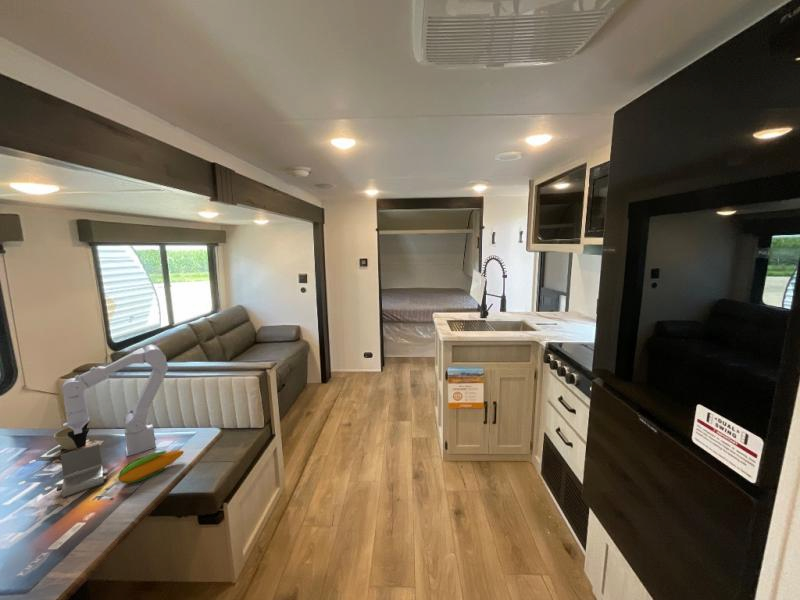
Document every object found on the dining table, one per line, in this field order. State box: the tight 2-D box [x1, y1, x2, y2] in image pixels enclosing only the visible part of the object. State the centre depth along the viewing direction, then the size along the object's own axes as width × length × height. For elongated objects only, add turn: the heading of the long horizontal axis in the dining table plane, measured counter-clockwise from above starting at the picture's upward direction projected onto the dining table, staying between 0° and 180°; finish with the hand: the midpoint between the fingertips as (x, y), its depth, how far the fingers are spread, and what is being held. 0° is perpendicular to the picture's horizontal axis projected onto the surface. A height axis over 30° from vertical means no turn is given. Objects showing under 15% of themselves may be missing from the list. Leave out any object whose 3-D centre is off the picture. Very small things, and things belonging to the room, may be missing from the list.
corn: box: [117, 449, 185, 484], centre depth 120 cm, size 7×8×20 cm
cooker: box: [56, 465, 109, 500], centre depth 113 cm, size 13×8×3 cm, turn 133°
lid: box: [60, 443, 103, 478], centre depth 116 cm, size 10×8×2 cm
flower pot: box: [53, 425, 89, 451], centre depth 134 cm, size 10×10×7 cm
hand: (81, 442), depth 121 cm, fingers open, 6 cm apart
